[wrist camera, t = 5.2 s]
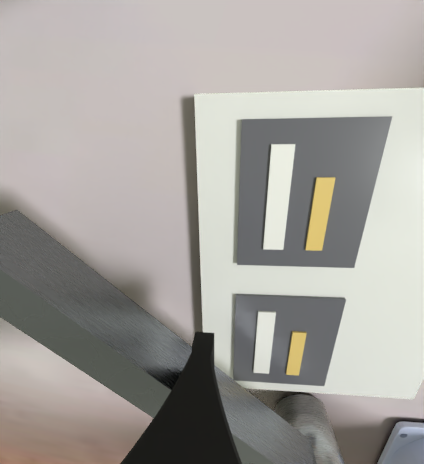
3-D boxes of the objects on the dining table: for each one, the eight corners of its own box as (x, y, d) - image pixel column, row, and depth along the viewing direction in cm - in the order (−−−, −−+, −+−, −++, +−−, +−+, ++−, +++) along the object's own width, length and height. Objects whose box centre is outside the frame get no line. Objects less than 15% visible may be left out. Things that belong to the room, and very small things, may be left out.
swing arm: (335, 413, 17) (386, 548, 11) (294, 431, 18) (323, 561, 12) (68, 184, 12) (-75, 224, 6) (36, 229, 13) (-111, 297, 7)
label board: (407, 390, 16) (417, 404, 15) (205, 377, 17) (204, 389, 16) (545, 87, 9) (577, 81, 8) (196, 96, 10) (193, 92, 9)
